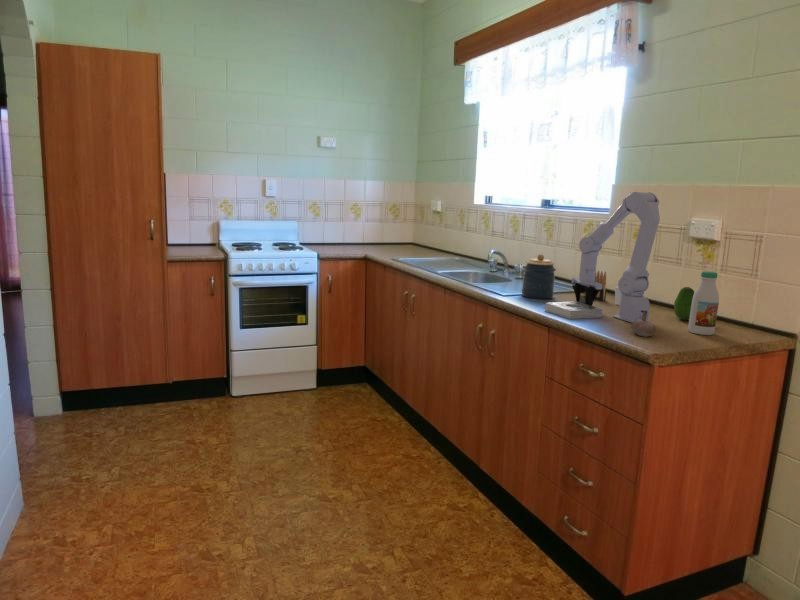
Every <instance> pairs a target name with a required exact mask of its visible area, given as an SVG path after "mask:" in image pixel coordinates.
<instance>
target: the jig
mask: <svg viewBox="0 0 800 600" xmlns="http://www.w3.org/2000/svg"><path fill="white" fill-rule="evenodd" d="M544 311H545V312H548V313H550V312H551V313H550V314H554V315H556V316H558V317H563V318H565V319H568V320H578V319H579V320H581V319H594V318H602V315H603V308H600V307H597V306H593V305H592V306H591V305H587V304H584V303H580V302H577V301H576V300H574V301H573V300H572V301H558V302H553V301H552V302H545V306H544Z"/></svg>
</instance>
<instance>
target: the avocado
mask: <svg viewBox="0 0 800 600" xmlns="http://www.w3.org/2000/svg"><path fill="white" fill-rule="evenodd" d="M694 292H695V290H694V289H693V288H691V287H689V286H684V287H682V288H681V289H680V290H679V292H678V294H677V296H676V298H675V300H674V304H673V310H674V314H675V316H676V317H677V318H678V319H679V320H682V321H689V319H690V312H691V305H692V299H693V295H694Z"/></svg>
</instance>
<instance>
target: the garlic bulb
mask: <svg viewBox="0 0 800 600" xmlns="http://www.w3.org/2000/svg"><path fill="white" fill-rule="evenodd" d="M646 316H647V310H645V311H644V312H643V317H642V320H635V321H634V322H633V323H632V322H631V329H632V331H633V332H634V333H636V335H638V336H640V337H644V338H645V337H646V338H648V337H652V336H654V335H655V334H656V327H655V325H654V324H653V323H652V322H650V321H649V322H647V321H646Z"/></svg>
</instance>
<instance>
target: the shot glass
mask: <svg viewBox="0 0 800 600" xmlns="http://www.w3.org/2000/svg"><path fill="white" fill-rule="evenodd" d="M614 289H615V290H614V305H616V306H620V300H621V291H620V290H619V288H618V285H616V286H615V287H614Z"/></svg>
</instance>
